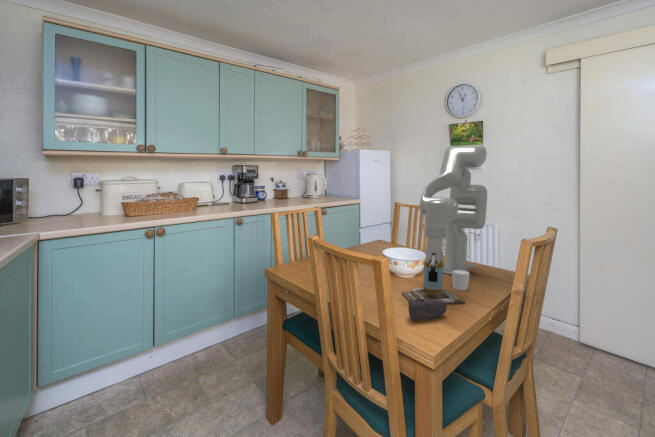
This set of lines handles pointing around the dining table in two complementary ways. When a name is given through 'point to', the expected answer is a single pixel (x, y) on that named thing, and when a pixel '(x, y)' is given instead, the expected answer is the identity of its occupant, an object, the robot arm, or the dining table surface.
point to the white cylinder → (460, 279)
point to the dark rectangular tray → (434, 296)
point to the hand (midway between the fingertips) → (433, 278)
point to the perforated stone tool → (426, 309)
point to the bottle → (437, 285)
